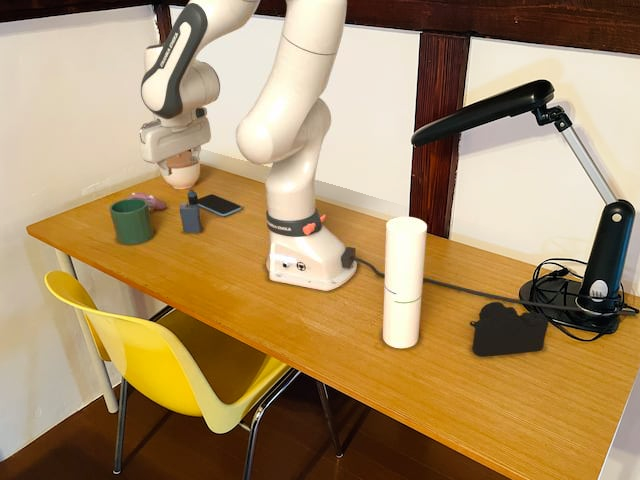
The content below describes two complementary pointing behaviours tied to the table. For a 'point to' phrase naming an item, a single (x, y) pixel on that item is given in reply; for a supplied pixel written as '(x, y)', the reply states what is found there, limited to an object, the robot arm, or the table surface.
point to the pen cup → (132, 221)
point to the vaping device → (191, 214)
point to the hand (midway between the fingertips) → (181, 168)
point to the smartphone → (218, 205)
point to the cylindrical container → (403, 280)
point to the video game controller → (150, 201)
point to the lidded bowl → (182, 171)
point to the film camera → (507, 331)
